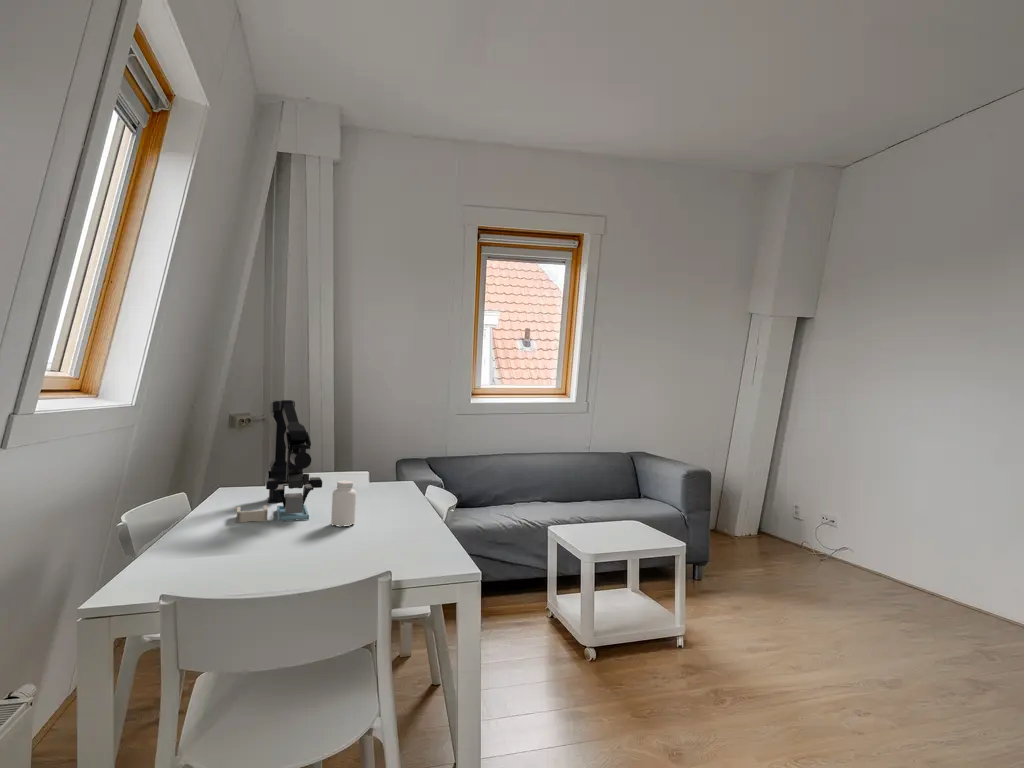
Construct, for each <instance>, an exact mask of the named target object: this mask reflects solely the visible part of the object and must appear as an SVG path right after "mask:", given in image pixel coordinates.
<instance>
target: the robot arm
mask: <svg viewBox="0 0 1024 768" xmlns="http://www.w3.org/2000/svg"><path fill="white" fill-rule="evenodd" d="M269 413H270V417H271V418H272V420H273V422H274V437H273V438H274V439H273V442H274V443H273V457H272V458H273V459H272V461H271V462H270V463H269V465H268V470H267V471H266V473H265V477H264V485H265V488H266V490H268V496H267V498H266V500H267V503H277V502H282V506H284V508H285V494H286V493H285V490H286V489H285V488H286V487H287V488H288V489H290V490H292V489H303V490H302V496H303V505H305V502H306V500H307V497H308V495H309V493H310V492H311V491H313V490H314V489H318V488H319V489H320V488H321V489H322V488H323V480H322V478H321V477H320V476H316V477H310V473H304V469H307V468H308V467H310V465H311V463H312V457H311V455H310V454H309V453H307V450H310V449H311V445H312V443H311V438H310V437H311V436H310V435H309V432H308V431H307V429H306V427H305V425H303V424H302V423H300V420H299V417H298V413H297V411H296V402H295V400H292V399H282V400H273V401H272V402H271V403H270V404H269Z"/></svg>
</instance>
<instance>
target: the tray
mask: <svg viewBox="0 0 1024 768" xmlns="http://www.w3.org/2000/svg"><path fill="white" fill-rule="evenodd" d="M276 512H278V513H277V518H279V519H278V522H284V521H283V520H294V521H297V520H296V519H310V514H309V511H308V508H307V506H306V504H304V505H303V513H290V514H286V513H285V509H284V506H283V505H277V506H276Z"/></svg>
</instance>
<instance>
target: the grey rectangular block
mask: <svg viewBox="0 0 1024 768" xmlns="http://www.w3.org/2000/svg"><path fill="white" fill-rule="evenodd" d="M284 495H285V508H284V509H285V513H286V514H290V513H303V496H302V495H303V492H302V493H301V492H297V493H296V492H293V493H284Z"/></svg>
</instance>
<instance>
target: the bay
mask: <svg viewBox="0 0 1024 768" xmlns="http://www.w3.org/2000/svg"><path fill="white" fill-rule="evenodd" d="M268 514H269V513H268V506H267V504H266V505H263V510H248V511H244V510H243V511H241V506H237V509H236V523H237V522H240V523H247V522H246V521H258V522H268Z"/></svg>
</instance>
